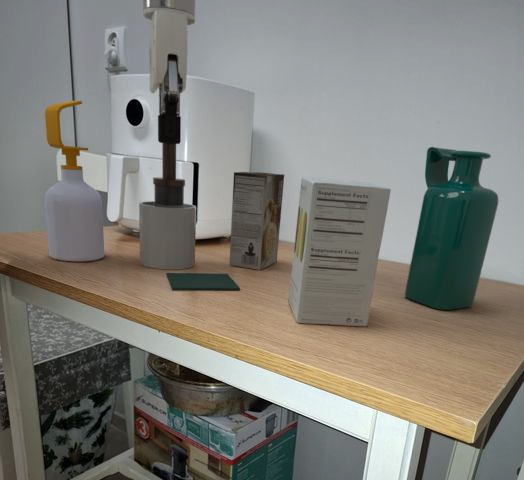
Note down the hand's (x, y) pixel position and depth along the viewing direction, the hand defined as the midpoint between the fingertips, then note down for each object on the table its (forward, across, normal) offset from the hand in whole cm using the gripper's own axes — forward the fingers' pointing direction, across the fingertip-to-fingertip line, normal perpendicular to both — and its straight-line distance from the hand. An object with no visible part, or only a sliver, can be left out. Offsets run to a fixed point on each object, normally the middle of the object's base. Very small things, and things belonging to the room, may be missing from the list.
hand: (169, 142), depth 78 cm
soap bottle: (+20, -4, -15) cm, 25 cm away
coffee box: (+20, -1, +16) cm, 25 cm away
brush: (+10, 0, 0) cm, 10 cm away
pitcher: (+20, +23, +39) cm, 49 cm away
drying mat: (+20, +13, +4) cm, 24 cm away
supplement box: (+20, +29, +18) cm, 39 cm away
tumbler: (+20, 0, 0) cm, 20 cm away
